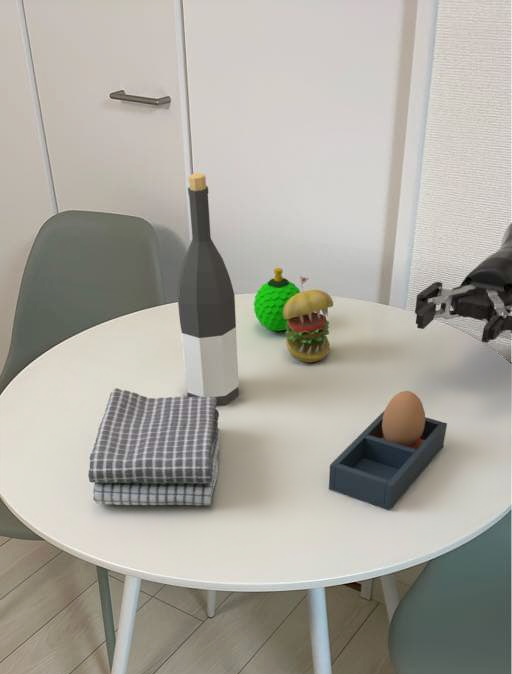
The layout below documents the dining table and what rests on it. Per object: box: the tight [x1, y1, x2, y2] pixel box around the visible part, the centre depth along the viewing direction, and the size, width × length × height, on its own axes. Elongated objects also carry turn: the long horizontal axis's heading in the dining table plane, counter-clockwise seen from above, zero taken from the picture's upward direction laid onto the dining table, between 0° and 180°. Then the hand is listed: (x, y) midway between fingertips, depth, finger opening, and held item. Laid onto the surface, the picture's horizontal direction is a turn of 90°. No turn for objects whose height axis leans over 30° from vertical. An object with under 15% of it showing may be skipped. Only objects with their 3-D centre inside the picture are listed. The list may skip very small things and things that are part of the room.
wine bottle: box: [176, 172, 240, 407], centre depth 101 cm, size 8×8×30 cm
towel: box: [88, 387, 221, 506], centre depth 94 cm, size 15×18×8 cm
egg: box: [382, 390, 426, 447], centre depth 93 cm, size 5×5×8 cm
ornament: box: [253, 267, 301, 332], centre depth 123 cm, size 8×8×10 cm
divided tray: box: [328, 409, 448, 511], centre depth 93 cm, size 8×15×4 cm, turn 144°
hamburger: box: [283, 275, 334, 363], centre depth 114 cm, size 8×7×12 cm
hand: (452, 328), depth 95 cm, fingers open, 8 cm apart
